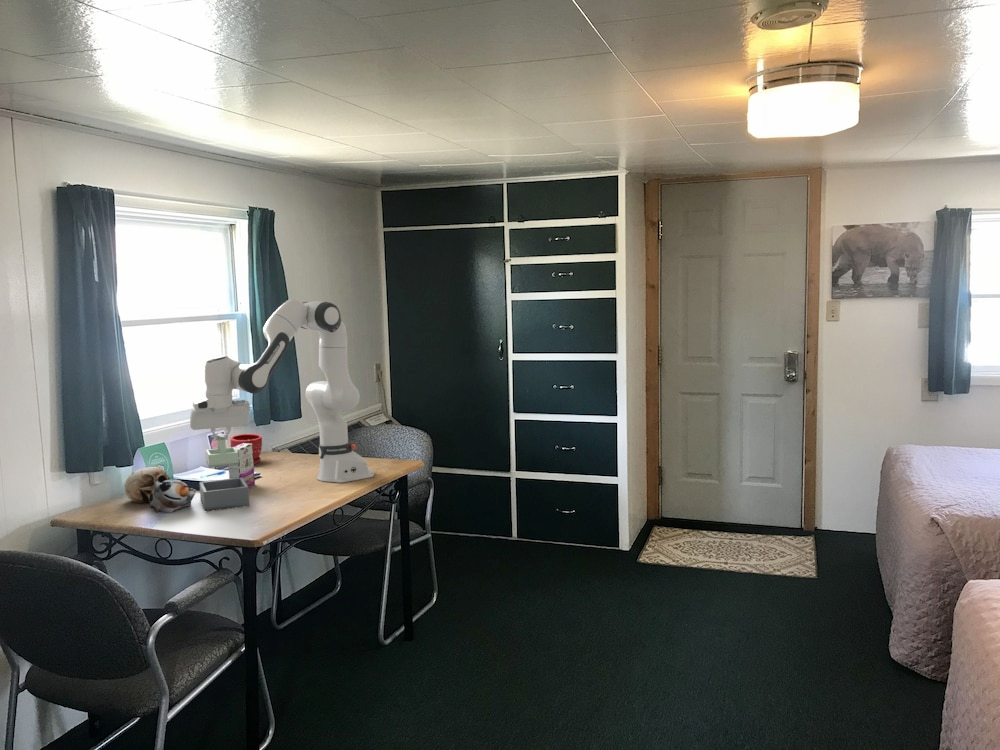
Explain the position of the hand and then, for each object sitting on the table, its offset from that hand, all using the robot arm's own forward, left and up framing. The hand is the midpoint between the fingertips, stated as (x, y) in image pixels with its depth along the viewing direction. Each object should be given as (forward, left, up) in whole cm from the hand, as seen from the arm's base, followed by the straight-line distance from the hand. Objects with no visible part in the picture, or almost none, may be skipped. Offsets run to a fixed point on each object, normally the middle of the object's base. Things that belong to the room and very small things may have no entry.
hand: (221, 439), depth 294 cm
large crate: (0, 0, -23) cm, 23 cm away
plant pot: (-17, -61, -24) cm, 68 cm away
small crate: (0, 0, -9) cm, 9 cm away
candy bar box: (-9, -20, -24) cm, 32 cm away
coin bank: (+22, -17, -24) cm, 37 cm away
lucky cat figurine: (+17, -2, -24) cm, 29 cm away
